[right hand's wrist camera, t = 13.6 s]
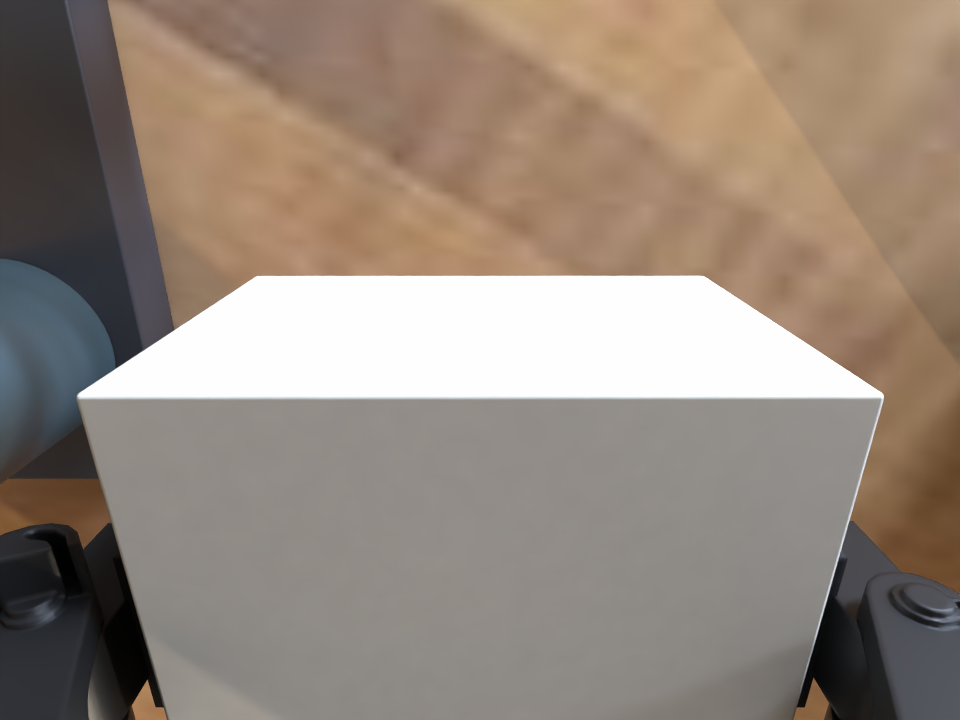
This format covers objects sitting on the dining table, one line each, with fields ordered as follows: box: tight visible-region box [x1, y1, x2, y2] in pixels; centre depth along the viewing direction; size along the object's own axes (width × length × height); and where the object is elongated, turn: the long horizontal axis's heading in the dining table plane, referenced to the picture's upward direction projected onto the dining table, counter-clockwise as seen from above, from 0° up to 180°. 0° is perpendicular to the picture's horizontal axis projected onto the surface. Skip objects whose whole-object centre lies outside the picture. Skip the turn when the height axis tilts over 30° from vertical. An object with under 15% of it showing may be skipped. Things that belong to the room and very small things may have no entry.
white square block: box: [77, 276, 884, 720], centre depth 9 cm, size 8×8×5 cm
